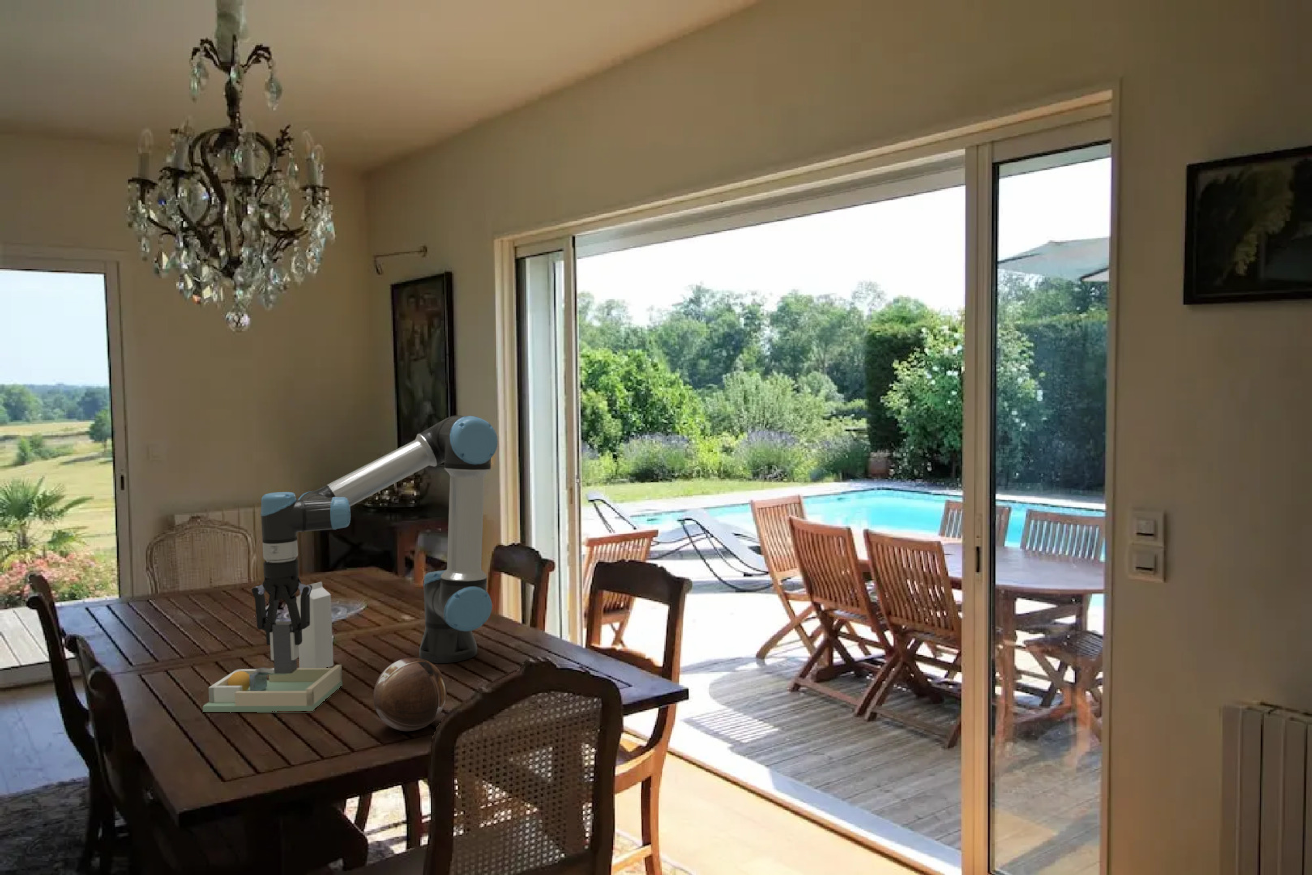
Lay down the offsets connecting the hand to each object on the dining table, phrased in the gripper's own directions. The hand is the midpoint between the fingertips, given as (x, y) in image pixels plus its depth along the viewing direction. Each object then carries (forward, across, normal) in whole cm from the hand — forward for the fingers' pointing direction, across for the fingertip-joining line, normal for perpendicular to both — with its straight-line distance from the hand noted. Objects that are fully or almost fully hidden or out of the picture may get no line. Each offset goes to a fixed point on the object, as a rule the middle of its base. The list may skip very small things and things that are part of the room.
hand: (285, 658), depth 217 cm
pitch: (+10, -3, 0) cm, 10 cm away
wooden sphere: (+10, +35, -19) cm, 41 cm away
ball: (+6, -11, 0) cm, 12 cm away
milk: (+10, -2, +24) cm, 26 cm away
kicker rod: (+8, -3, 0) cm, 8 cm away
